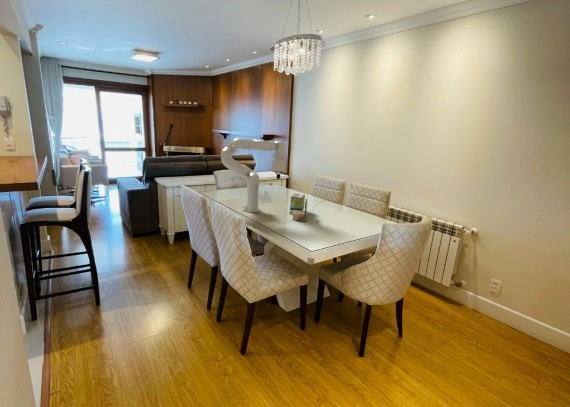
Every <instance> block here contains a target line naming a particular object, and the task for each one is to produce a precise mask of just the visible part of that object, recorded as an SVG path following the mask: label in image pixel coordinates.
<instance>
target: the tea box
mask: <svg viewBox="0 0 570 407" xmlns="http://www.w3.org/2000/svg"><path fill="white" fill-rule="evenodd" d="M305 197H306V194H304V193H295V192H293V194H292V195H291V196H290V206H289V214H291V215H293V210H302V211H305V201H306V198H305Z"/></svg>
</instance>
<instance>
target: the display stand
mask: <svg viewBox="0 0 570 407" xmlns="http://www.w3.org/2000/svg"><path fill="white" fill-rule="evenodd" d="M307 210H308V198H305V201H304V213H305V216H304V218H302V217H298V220H297V222H300V223H306V222H307Z"/></svg>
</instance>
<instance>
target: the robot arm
mask: <svg viewBox="0 0 570 407" xmlns="http://www.w3.org/2000/svg"><path fill="white" fill-rule="evenodd" d="M285 148H286V146H285V141H282V140H281V141H279V140H278V141H276V140H259V139H255V138H240V137H236V138H234V139H233V140H231V142H230V143H228V144H227V145H226V146H225V147H224V148H223V149H222V150H221V153H220V161H221V163H222V165H223V166H224V167H225V168H227V169H228V170H230V171H231V172H233V173H234V174H235V175H237V176H239V177H240V178H243V179H246V180H247V181H246V182H247V185H246V186H247V187H246V192H247V193H246V204H241V207H242V208H244V211H245V212H248V213H257V212H260V211H261V208H259V198H260V195H259V194H260V192H259V191H260V176H259V174H258V173H257V172H256V171H255V170H253V169H251V168H250V167H249V166H247V165H246V164H243V163H240V162H238V160H235V159H233V155H234V154H236V152H237V151H239V150H240V151H241V150H248V151H262V152H263V151H267V152H268V151H269V152H272V151H274V154H273V155H272V157H274V158H273V160H272V168H271V169H272V172H273V173H275V175H276V180H280V179H281V174H283V173H286V159H285Z"/></svg>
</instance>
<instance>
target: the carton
mask: <svg viewBox="0 0 570 407" xmlns="http://www.w3.org/2000/svg"><path fill="white" fill-rule="evenodd" d="M304 212H305V210H303V211H302V210H293V214H292V221H298V217H302V218H304V217H305V213H304Z"/></svg>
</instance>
